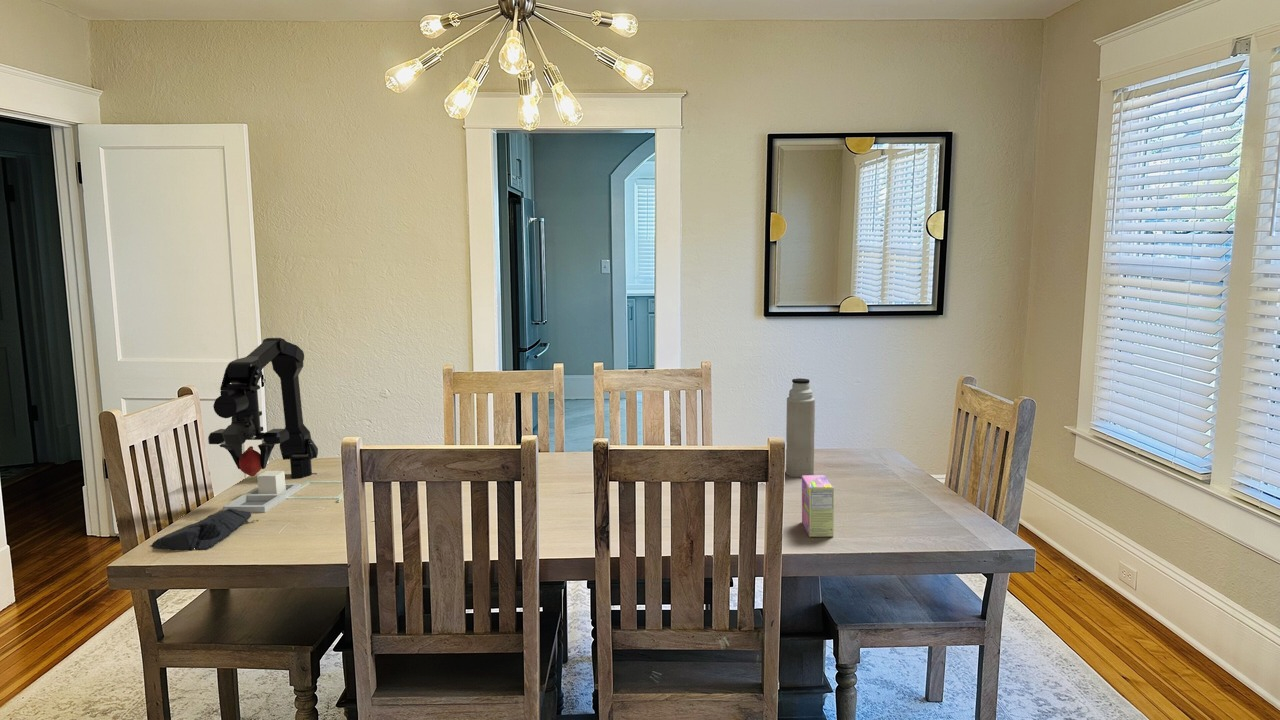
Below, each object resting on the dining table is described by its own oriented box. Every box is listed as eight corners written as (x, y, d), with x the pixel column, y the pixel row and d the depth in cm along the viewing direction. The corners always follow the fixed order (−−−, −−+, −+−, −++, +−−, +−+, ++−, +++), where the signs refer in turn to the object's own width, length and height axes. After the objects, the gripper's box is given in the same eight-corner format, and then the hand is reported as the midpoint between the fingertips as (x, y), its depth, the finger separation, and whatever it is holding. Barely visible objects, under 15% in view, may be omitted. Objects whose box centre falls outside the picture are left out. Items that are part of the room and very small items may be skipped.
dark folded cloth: (263, 521, 203) (262, 502, 202) (206, 554, 181) (204, 533, 181) (207, 519, 205) (205, 501, 204) (144, 551, 183) (141, 531, 183)
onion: (246, 481, 205) (243, 450, 204) (235, 477, 209) (232, 447, 208) (269, 475, 210) (266, 445, 209) (257, 472, 213) (255, 442, 212)
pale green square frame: (307, 485, 232) (307, 481, 232) (362, 485, 231) (362, 480, 231) (280, 502, 216) (280, 498, 216) (339, 502, 215) (338, 498, 215)
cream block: (268, 492, 222) (266, 470, 221) (286, 492, 222) (284, 470, 221) (259, 497, 217) (257, 476, 216) (277, 497, 217) (275, 476, 216)
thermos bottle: (810, 469, 240) (812, 376, 236) (816, 477, 232) (817, 381, 228) (783, 469, 240) (784, 377, 236) (788, 477, 232) (789, 381, 228)
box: (800, 522, 195) (801, 474, 193) (824, 522, 194) (825, 474, 193) (808, 537, 184) (809, 487, 183) (833, 537, 184) (834, 487, 183)
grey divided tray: (263, 492, 225) (262, 483, 225) (301, 492, 225) (301, 483, 224) (223, 516, 205) (222, 506, 205) (265, 516, 205) (264, 506, 205)
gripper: (192, 416, 199) (198, 477, 202) (266, 416, 198) (271, 477, 201) (218, 407, 210) (223, 465, 213) (287, 407, 209) (292, 465, 212)
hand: (251, 468), depth 209 cm, fingers closed on onion, 6 cm apart
